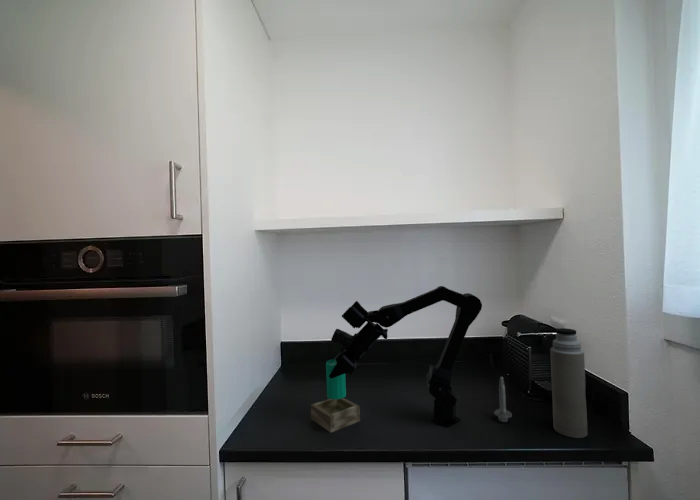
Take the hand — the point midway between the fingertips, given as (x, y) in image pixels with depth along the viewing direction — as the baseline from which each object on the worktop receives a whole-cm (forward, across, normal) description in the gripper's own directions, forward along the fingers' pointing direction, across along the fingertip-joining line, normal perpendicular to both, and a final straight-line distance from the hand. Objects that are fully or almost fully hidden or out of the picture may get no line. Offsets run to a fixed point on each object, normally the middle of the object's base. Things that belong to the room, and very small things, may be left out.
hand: (331, 374), depth 109 cm
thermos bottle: (-38, +4, +58) cm, 69 cm away
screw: (-26, -1, +46) cm, 53 cm away
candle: (+4, 0, +6) cm, 7 cm away
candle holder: (+9, +2, +10) cm, 13 cm away
